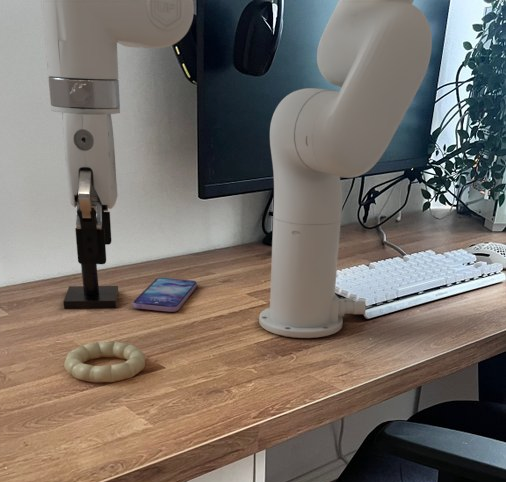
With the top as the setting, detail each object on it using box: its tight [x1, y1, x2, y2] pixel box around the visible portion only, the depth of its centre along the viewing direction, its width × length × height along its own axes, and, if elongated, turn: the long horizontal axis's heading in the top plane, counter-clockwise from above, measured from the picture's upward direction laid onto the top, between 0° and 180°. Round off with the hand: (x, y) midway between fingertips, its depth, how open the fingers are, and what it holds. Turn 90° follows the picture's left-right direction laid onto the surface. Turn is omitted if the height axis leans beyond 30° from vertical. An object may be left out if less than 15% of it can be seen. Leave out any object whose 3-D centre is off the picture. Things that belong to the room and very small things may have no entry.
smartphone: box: [132, 277, 198, 313], centre depth 114 cm, size 7×1×15 cm
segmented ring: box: [63, 341, 146, 384], centre depth 88 cm, size 10×10×2 cm
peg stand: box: [63, 264, 119, 310], centre depth 110 cm, size 8×8×7 cm
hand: (95, 253), depth 85 cm, fingers open, 9 cm apart
